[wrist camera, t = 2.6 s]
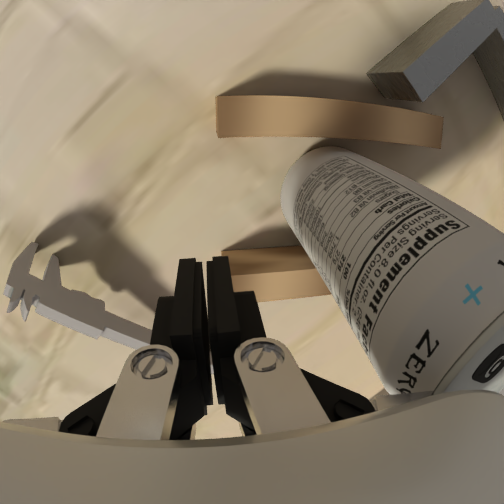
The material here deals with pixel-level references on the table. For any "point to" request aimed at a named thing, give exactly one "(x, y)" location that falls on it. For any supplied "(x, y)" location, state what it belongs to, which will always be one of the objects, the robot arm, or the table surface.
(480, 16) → the gray l-shaped block
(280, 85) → the table surface
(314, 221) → the energy drink can
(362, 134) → the guide channel
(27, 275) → the caliper
